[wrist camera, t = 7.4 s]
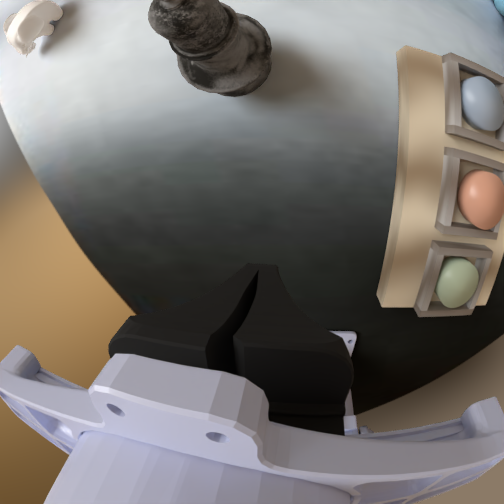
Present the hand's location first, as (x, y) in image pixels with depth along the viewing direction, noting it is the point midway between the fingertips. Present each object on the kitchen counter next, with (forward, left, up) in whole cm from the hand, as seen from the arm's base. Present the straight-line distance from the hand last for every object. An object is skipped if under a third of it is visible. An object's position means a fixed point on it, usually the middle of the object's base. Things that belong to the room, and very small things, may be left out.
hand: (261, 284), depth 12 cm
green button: (-3, -15, -7) cm, 17 cm away
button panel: (+4, -15, -9) cm, 18 cm away
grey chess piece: (+12, +3, -10) cm, 16 cm away
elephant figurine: (+23, +24, -10) cm, 35 cm away
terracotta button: (+4, -15, -6) cm, 17 cm away
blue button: (+11, -15, -7) cm, 20 cm away
